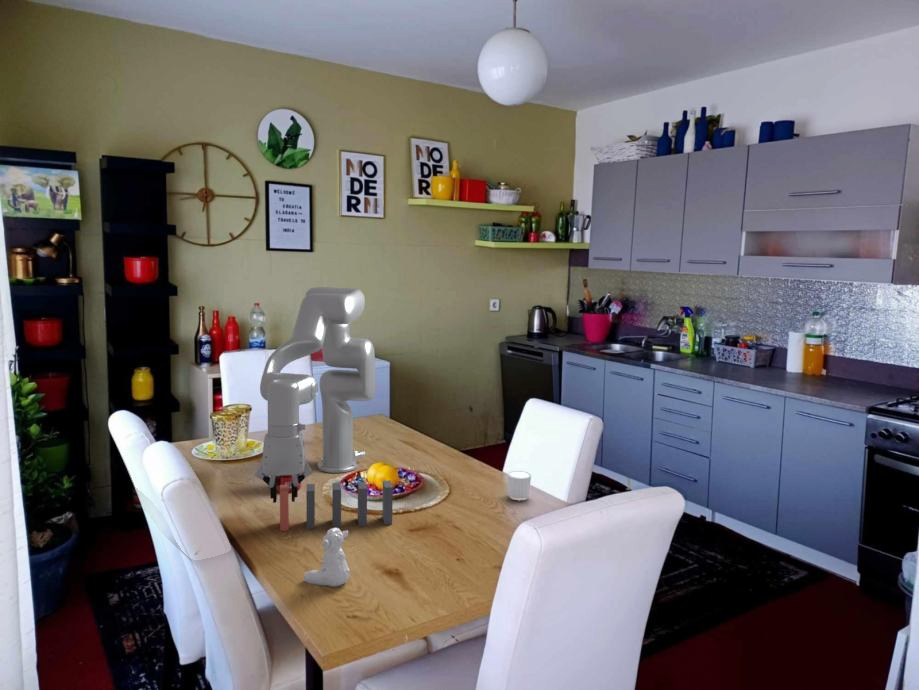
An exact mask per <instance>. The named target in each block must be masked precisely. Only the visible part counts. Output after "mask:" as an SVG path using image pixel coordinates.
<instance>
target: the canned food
mask: <svg viewBox="0 0 919 690" xmlns="http://www.w3.org/2000/svg"><path fill="white" fill-rule="evenodd" d="M299 475H300V474H298V476H299ZM275 482H276V484H277V493H278V494H280V485H288V494H292V483H293V479H292V475H280V476H276V477H275ZM301 488H302V482H300V483H299V485H298V491H299V490H301Z"/></svg>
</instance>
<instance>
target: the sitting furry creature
mask: <svg viewBox="0 0 919 690" xmlns="http://www.w3.org/2000/svg"><path fill="white" fill-rule="evenodd" d="M348 536H349V531H348V530H343V531H341V529H340V527H339V528H333V527H331V528H330V529H329V530H327V531H326V534H325V535H324V536H323V538H322V542H321V545H322V546H323V547H324V550H323V555H322V562H321V566H320V570H318V569H310V570H308V571H305V572H304V575H303V580H304V581H305V582H306V583H308V584H310V585H311V584H312V585H318V586H324V587H325V586H326V587H331V588H332V587H333V588H335V587H340V586H343V585H344V584H346V582H347V581H348V580H349V578H350V574H351V569H350V568H349V566H348V562H347V560H346V554H345V552H344V550H343V549H342V545H343V544H344V542H345V538H347V537H348Z"/></svg>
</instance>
